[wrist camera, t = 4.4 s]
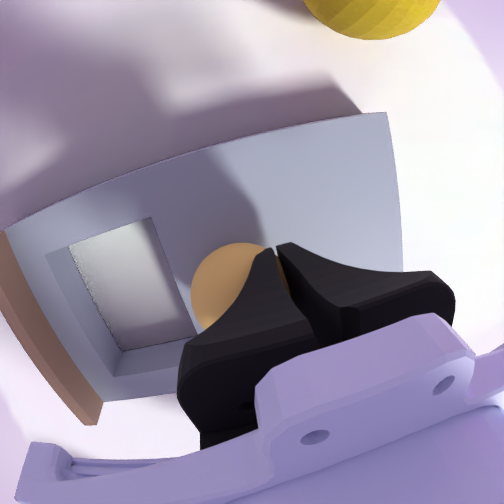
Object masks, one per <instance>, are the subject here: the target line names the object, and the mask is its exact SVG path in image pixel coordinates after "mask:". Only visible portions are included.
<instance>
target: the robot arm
mask: <svg viewBox="0 0 504 504" xmlns="http://www.w3.org/2000/svg"><path fill="white" fill-rule="evenodd" d="M276 250H277V255H278V258H279V260H280V262H281V265H282V268H283V271H284V274H285V277H286V280H287V283H288V286H289V290H290V294H291V297H290V296H289V294H288V292H287V290H286V289H285V287H284V285H283V283H282V281H281V278H280V274H279V270H278V265H277V261H276V257H275V252H274V250H273V249H272V248H271V247H269V248H266V249H265V250H263V251H262V252H260V253H259V254H257V255H256V256H255V258H254V260H253V262H252V266H251V269H250V272H249V275H248V277H247V279H246V282H245V284H244V286H243V288H242V290H241V291H240V293H239V295H238V296H237V298H236V299H235V301H234V302H233V303H232V305H231V306H230V307H229V308H228V309H227V310H226V311H225V313H224V314H223V315H222V316H221V317H220V318H219V319H218V320H216V321H215V322H214V323H213V324H212V325H211V326H209V327H208V328H207V329H206V330H204V331H203V332H201V333H200V334H198V335H197V336H195V337H194V338H192V339H191V340H189V341H188V342H186V343H185V344H184V348H183V352H182V355H181V359H180V363H179V368H178V378H177V399H178V401H179V403H180V405H181V407H182V409H183V410H184V412H185V413H186V414H187V416H188V417H189V419H190V420H191V421H192V423H193V424H194V425H195V427H196V428H197V429H198V431H199V432H200V451H197V452H194V453H191V454H188V455H185V456H181V457H175V458H161V459H136V460H109V459H85V458H72V456H71V455H70V454H69V453H68V452H67V451H66V450H64V449H63V448H62V447H60V446H58V445H56V444H52V443H42V442H31V444H30V447H29V450H28V453H27V456H26V459H25V462H24V465H23V469H22V472H21V475H20V479H19V482H18V486H17V490H16V493H15V497H14V498H15V500H16V501H17V502H19V503H21V504H504V343H503V344H502V345H500V346H499V347H497V348H496V349H494V350H493V351H491V352H490V353H487V354H483V355H480V356H476V357H475V355H476V354H475V353H474V352H473V350H472V349H471V348H470V347H469V346H468V345H467V344H466V343H465V341H464V340H463V339H462V338H461V337H460V336H459V335H458V334H457V333H456V332H455V330H454V329H453V328H452V323H453V318H454V313H455V302H456V301H455V296H454V292H453V291H452V290H451V288H450V287H449V286H448V285H447V284H446V283H445V282H444V281H442V280H441V279H440V278H439V277H438V276H437V275H435V274H434V273H433V272H432V271H415V272H386V271H375V270H368V269H362V268H357V267H352V266H348V265H345V264H341V263H338V262H335V261H332V260H329V259H327V258H324V257H322V256H319V255H317V254H315V253H313V252H310V251H308V250H306V249H304V248H302V247H300V246H299V245H297V244H295V243H293V242H288V243H284V244H281V245H277V246H276Z"/></svg>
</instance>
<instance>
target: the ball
mask: <svg viewBox="0 0 504 504" xmlns="http://www.w3.org/2000/svg"><path fill="white" fill-rule="evenodd" d="M265 249H266V248H264V247H262V246H259V245H256V244H251V243H233V244H228V245H225V246H223V247H220V248H218V249H217V250H215V251H213V252H212V253H211V254H209V255H208V256H207V257H206V258H205V259H204V260H203V261H202V262H201V264H200V265H199V267H198V268H197V270H196V272H195V274H194V277H193V280H192V284H191V292H190V297H191V304H192V309H193V312H194V314H195V316H196V319H197V320H198V322H199V323H200V325H201V326H202V327H203V328H204V330H206V329H207V328H208V327H209V326H211V325H212V324H213V323H214V322H215V321H216V320H218V319H219V318H220V317H221V316H222V315H223V314H224V313H225V311H226V310H227V309H228V308H229V307H230V306H231V305H232V303H233V302H234V301H235V299H236V298H237V296H238V295H239V293H240V291H241V290H242V288H243V286H244V284H245V282H246V279H247V277H248V275H249V272H250V269H251V266H252V262H253V260H254V258H255V256H256V255H257V254H259V253H260V252H262V251H263V250H265ZM275 257H276V261H277V265H278V270H279V274H280V278H281V281H282V283H283V285H284V287H285V289H286V290H287V292H288V294H289V296H290V297H291V294H290V290H289V286H288V283H287V280H286V277H285V274H284V271H283V268H282V265H281V262H280V260H279V258H278V256H277V255H275Z"/></svg>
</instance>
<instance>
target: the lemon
mask: <svg viewBox="0 0 504 504" xmlns="http://www.w3.org/2000/svg"><path fill="white" fill-rule="evenodd" d="M303 1H304V3H305V5H306V6H307V8H308V9H309V10H310V11H311V13H312V14H313V15H314V16H315V17H316V18H317V19H318V20H319V21H321V22H322V23H323V24H324V25H326V26H327V27H329V28H331V29H332V30H334V31H336V32H338V33H340V34H343V35H346V36H348V37H353V38H358V39H363V40H381V39H388V38H392V37H395V36H398V35H402V34H405V33H407V32H409V31H411V30H413V29H414V28H416V27H417V26H419V25H420V24H421V23H422V22H424V21H425V20H426V19H427V18H429V17H430V16H431V15H432V13H433V12H434V11H435V9H436V8H437V6H438V4H439V2H440V0H303Z"/></svg>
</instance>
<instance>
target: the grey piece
mask: <svg viewBox="0 0 504 504" xmlns="http://www.w3.org/2000/svg"><path fill="white" fill-rule="evenodd" d="M149 217H151V218H152V221H153V224H154V227H155V229H156V232H157V235H158V238H159V240H160V243H161V246H162V248H163V251H164V254H165V256H166V259H167V262H168V264H169V267H170V269H171V272H172V274H173V277H174V279H175V282H176V284H177V287H178V289H179V292H180V294H181V297H182V299H183V301H184V304H185V306H186V308H187V311H188V313H189V316H190V318H191V320H192V322H193V325H194V327H195V329H196V332H197V334H200V333H201V332H203V331H204V328H203V327H202V326H201V325H200V323H199V322H198V320H197V319H196V316H195V314H194V312H193V309H192V304H191V297H190V292H191V284H192V280H193V277H194V274H195V272H196V270H197V268H198V267H199V265H200V264H201V262H202V261H203V260H204V259H205V258H206V257H207V256H208V255H209V254H211V253H212V252H213V251H215V250H217V249H218V248H220V247H223V246H225V245H228V244H233V243H251V244H256V245H259V246H262V247H264V248H269V247H271V248H272V249H273V250H274V252H275V255H277V250H276V246H277V245H281V244H284V243H288V242H293V243H295V244H297V245H299V246H300V247H302V248H304V249H306V250H308V251H310V252H313V253H315V254H317V255H319V256H322V257H324V258H327V259H329V260H332V261H335V262H338V263H341V264H345V265H348V266H352V267H357V268H362V269H368V270H375V271H386V272H403V253H402V230H401V215H400V203H399V192H398V183H397V174H396V166H395V159H394V152H393V146H392V139H391V133H390V128H389V122H388V117H387V112H378V113H363V114H355V115H349V116H342V117H336V118H330V119H324V120H319V121H313V122H308V123H303V124H298V125H293V126H288V127H283V128H279V129H274V130H270V131H265V132H261V133H257V134H253V135H249V136H245V137H241V138H237V139H233V140H229V141H226V142H222V143H218V144H215V145H211V146H208V147H204V148H201V149H198V150H194V151H191V152H188V153H184V154H181V155H178V156H175V157H172V158H169V159H166V160H163V161H160V162H157V163H154V164H151V165H148V166H145V167H142V168H140V169H137V170H134V171H131V172H129V173H126V174H123V175H121V176H118V177H115V178H113V179H110V180H108V181H105V182H103V183H100V184H98V185H95V186H93V187H90V188H88V189H86V190H83V191H81V192H79V193H76V194H74V195H72V196H69V197H67V198H65V199H63V200H60V201H58V202H56V203H54V204H52V205H50V206H48V207H45V208H43V209H41V210H39V211H37V212H35V213H33V214H31V215H29V216H27V217H25V218H23V219H21V220H19V221H17V222H15V223H14V224H12V225H10V226H9V227H7V228H5V229H4V230H2V231H0V310H1V312H2V314H3V316H4V317H5V319H6V321H7V323H8V324H9V326H10V328H11V329H12V331H13V333H14V334H15V336H16V337H17V339H18V341H19V342H20V344H21V345H22V347H23V348H24V350H25V351H26V353H27V354H28V356H29V357H30V359H31V360H32V361H33V363H34V364H35V366H36V367H37V368H38V370H39V371H40V373H41V374H42V375H43V377H44V378H45V379H46V381H47V382H48V383H49V384H50V386H51V387H52V388H53V390H54V391H55V392H56V393H57V394H58V396H59V397H60V398H61V399H62V401H63V402H64V403H65V404H66V405H67V406H68V408H69V409H70V410H71V411H72V412H73V413H74V414H75V416H76V417H77V418H78V419H79V420H80V421H81V422H82V423H83V424H84V425H97V422H98V419H99V416H100V412H101V409H102V406H103V402H108V401H118V400H127V399H135V398H143V397H150V396H157V395H163V394H170V393H176V392H177V378H178V368H179V363H180V359H181V355H182V352H183V348H184V344H185V343H186V342H188V341H189V340H191V339H192V338H194V337H195V336H194V337H190V338H186V339H181V340H177V341H172V342H168V343H163V344H158V345H154V346H149V347H144V348H139V349H134V350H129V351H124V352H122V351H121V350H120V348H119V346H118V345H117V343H116V341H115V340H114V338H113V336H112V334H111V333H110V331H109V329H108V327H107V326H106V324H105V322H104V320H103V318H102V316H101V315H100V313H99V311H98V309H97V307H96V305H95V303H94V301H93V299H92V297H91V295H90V293H89V291H88V289H87V287H86V285H85V283H84V281H83V279H82V277H81V275H80V273H79V271H78V268H77V266H76V264H75V262H74V260H73V257H72V255H71V253H70V250H69V248H68V246H69V245H71V244H74V243H77V242H80V241H82V240H85V239H88V238H90V237H93V236H96V235H99V234H102V233H104V232H107V231H110V230H113V229H116V228H119V227H122V226H125V225H128V224H131V223H134V222H137V221H140V220H143V219H146V218H149ZM277 256H278V255H277Z"/></svg>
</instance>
